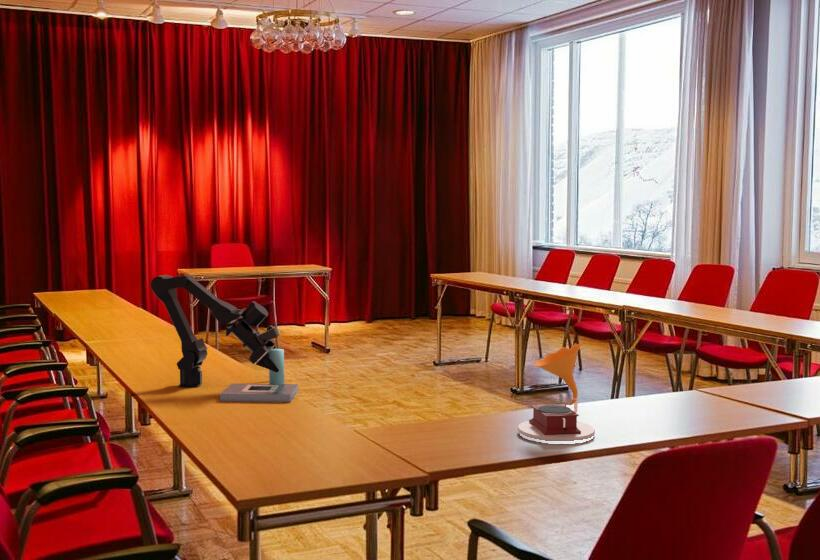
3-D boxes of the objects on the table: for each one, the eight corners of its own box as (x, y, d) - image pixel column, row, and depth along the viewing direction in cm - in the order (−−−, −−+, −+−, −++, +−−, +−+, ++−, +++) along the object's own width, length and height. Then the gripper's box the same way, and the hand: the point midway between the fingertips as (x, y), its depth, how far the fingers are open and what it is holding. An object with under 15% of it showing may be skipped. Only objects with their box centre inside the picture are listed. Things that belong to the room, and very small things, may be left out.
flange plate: (220, 401, 282) (220, 393, 282) (231, 390, 298) (231, 382, 298) (290, 402, 282) (290, 393, 281) (298, 391, 298) (298, 383, 297)
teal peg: (267, 389, 300) (267, 351, 299) (270, 386, 305) (270, 348, 304) (282, 389, 300) (282, 351, 299) (285, 386, 305) (285, 348, 304)
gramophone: (578, 424, 256) (580, 336, 254) (606, 443, 236) (608, 348, 234) (508, 427, 253) (510, 338, 250) (531, 446, 233) (532, 350, 230)
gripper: (258, 322, 292) (293, 357, 292) (269, 315, 310) (301, 347, 311) (234, 346, 293) (269, 380, 293) (247, 338, 311) (279, 370, 312)
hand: (280, 368), depth 302 cm, fingers open, 9 cm apart
